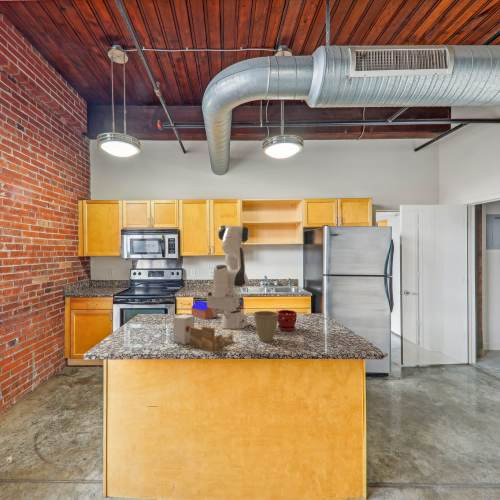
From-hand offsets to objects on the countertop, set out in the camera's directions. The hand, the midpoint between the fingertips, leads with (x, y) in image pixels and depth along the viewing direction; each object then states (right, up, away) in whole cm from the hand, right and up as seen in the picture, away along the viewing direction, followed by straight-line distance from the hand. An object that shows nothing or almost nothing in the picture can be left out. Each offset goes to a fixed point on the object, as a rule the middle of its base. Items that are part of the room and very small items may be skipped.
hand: (221, 317), depth 168 cm
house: (-22, -16, +74) cm, 78 cm away
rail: (0, -15, -1) cm, 15 cm away
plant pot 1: (+26, -15, +7) cm, 31 cm away
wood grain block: (-9, -15, -4) cm, 18 cm away
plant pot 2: (+42, -15, +30) cm, 54 cm away
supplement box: (-23, -16, +5) cm, 28 cm away
